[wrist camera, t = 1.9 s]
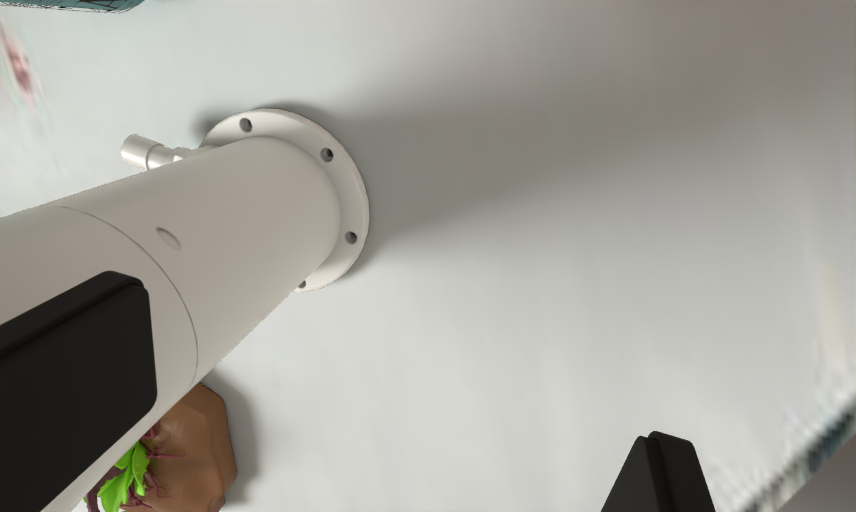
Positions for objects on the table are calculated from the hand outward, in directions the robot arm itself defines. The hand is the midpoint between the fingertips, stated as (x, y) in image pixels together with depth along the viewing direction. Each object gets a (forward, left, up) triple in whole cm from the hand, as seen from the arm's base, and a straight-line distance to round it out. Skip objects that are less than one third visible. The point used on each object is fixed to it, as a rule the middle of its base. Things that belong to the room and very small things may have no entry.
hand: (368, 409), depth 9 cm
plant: (-23, -35, -23) cm, 47 cm away
